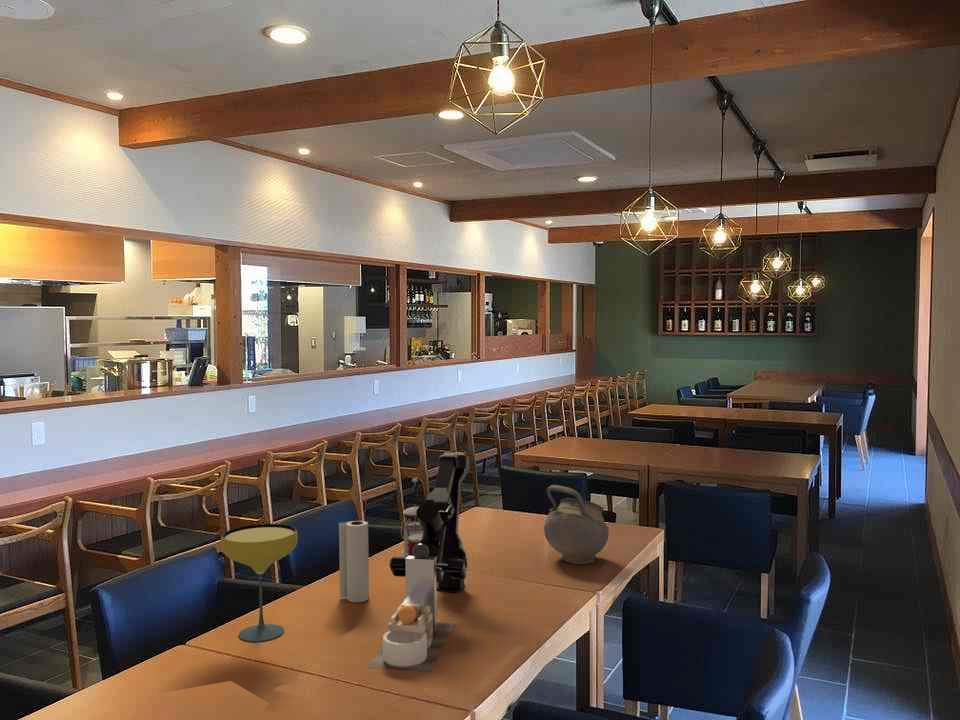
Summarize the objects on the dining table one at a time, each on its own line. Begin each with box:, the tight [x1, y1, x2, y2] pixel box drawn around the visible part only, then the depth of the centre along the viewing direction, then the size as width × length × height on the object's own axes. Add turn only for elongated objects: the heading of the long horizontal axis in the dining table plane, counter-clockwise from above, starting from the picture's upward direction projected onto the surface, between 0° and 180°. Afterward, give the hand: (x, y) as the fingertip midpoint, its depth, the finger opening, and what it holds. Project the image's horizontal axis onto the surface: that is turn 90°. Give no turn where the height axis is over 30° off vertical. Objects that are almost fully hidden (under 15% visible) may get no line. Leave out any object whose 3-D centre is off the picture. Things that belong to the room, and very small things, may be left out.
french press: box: [400, 477, 423, 557], centre depth 260 cm, size 10×12×25 cm
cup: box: [382, 630, 427, 667], centre depth 175 cm, size 10×10×5 cm
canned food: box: [408, 533, 423, 556], centre depth 240 cm, size 8×8×11 cm
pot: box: [543, 484, 610, 565], centre depth 251 cm, size 21×21×25 cm
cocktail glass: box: [220, 523, 299, 643], centre depth 192 cm, size 18×18×25 cm
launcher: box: [366, 603, 456, 673], centre depth 182 cm, size 28×14×10 cm, turn 171°
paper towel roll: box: [338, 520, 370, 603], centre depth 216 cm, size 7×6×21 cm
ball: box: [398, 605, 416, 624], centre depth 176 cm, size 4×4×4 cm
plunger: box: [400, 543, 438, 633], centre depth 185 cm, size 13×7×21 cm, turn 171°
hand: (422, 599), depth 191 cm, fingers closed, pressing on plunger
